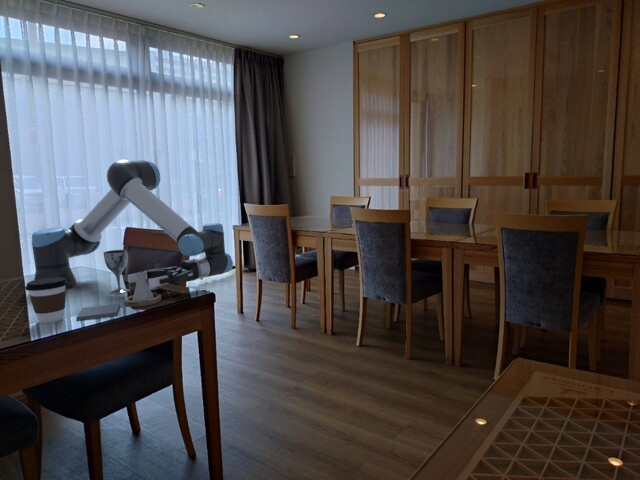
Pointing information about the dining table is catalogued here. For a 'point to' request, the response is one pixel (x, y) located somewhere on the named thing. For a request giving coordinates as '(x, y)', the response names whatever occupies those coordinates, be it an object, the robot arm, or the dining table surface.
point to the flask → (142, 288)
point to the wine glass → (116, 266)
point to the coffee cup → (48, 298)
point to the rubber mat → (98, 311)
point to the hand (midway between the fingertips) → (138, 281)
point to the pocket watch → (156, 286)
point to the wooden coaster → (131, 303)
